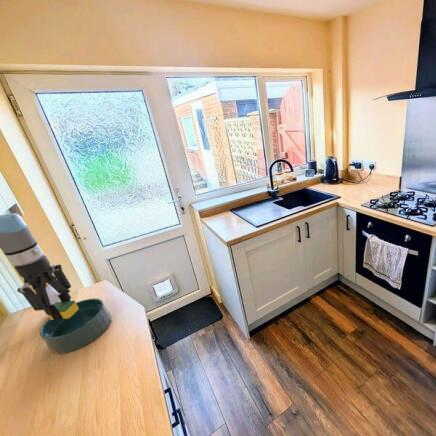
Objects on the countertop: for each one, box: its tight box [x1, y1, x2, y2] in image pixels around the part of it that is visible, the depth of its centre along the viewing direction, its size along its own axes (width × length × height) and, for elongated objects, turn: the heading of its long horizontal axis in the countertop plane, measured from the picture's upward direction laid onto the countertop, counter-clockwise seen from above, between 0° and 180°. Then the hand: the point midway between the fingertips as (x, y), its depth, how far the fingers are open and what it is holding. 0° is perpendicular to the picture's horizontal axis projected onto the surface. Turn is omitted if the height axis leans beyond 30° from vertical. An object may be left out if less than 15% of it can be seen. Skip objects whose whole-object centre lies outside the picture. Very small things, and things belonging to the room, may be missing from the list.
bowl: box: [39, 297, 112, 354], centre depth 95 cm, size 19×19×8 cm
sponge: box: [45, 300, 79, 320], centre depth 88 cm, size 7×4×4 cm, turn 90°
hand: (64, 313), depth 89 cm, fingers closed on sponge, 4 cm apart
